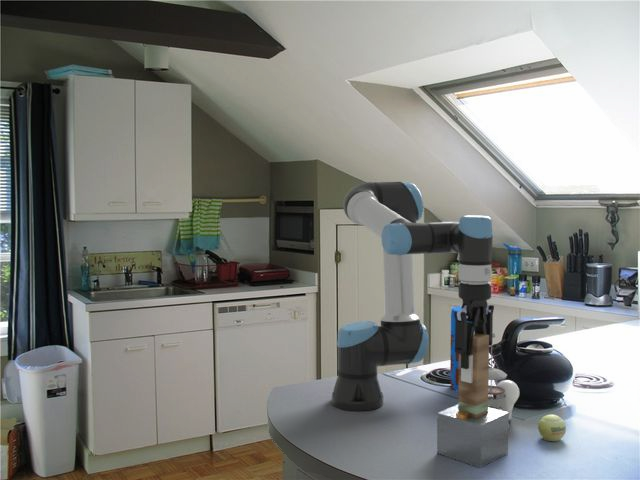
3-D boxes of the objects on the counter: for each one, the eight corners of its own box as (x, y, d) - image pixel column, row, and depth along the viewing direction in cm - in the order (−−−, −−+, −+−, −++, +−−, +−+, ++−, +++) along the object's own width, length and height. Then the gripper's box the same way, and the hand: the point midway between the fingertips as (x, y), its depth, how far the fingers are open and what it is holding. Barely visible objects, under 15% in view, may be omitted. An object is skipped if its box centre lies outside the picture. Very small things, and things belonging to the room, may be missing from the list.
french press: (503, 434, 180) (504, 338, 178) (460, 426, 186) (460, 333, 184) (514, 422, 188) (515, 330, 186) (472, 415, 194) (473, 326, 192)
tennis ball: (547, 418, 172) (570, 415, 174) (531, 413, 179) (554, 410, 181) (549, 444, 172) (572, 441, 174) (533, 438, 178) (556, 435, 180)
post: (458, 426, 167) (459, 335, 165) (469, 420, 170) (470, 331, 168) (476, 431, 163) (477, 338, 161) (487, 425, 167) (489, 335, 165)
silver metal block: (437, 453, 167) (437, 408, 166) (465, 440, 176) (465, 397, 175) (480, 468, 159) (481, 420, 158) (507, 453, 167) (508, 408, 166)
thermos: (483, 383, 224) (484, 306, 222) (487, 393, 214) (489, 312, 211) (448, 382, 225) (449, 305, 223) (451, 392, 215) (452, 312, 213)
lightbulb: (518, 417, 192) (519, 378, 191) (518, 425, 186) (519, 384, 185) (494, 415, 194) (495, 376, 193) (493, 422, 188) (495, 382, 187)
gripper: (467, 288, 155) (465, 390, 157) (509, 279, 167) (507, 374, 170) (439, 284, 160) (438, 383, 162) (482, 276, 173) (480, 368, 175)
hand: (473, 378), depth 166 cm, fingers closed on post, 5 cm apart
